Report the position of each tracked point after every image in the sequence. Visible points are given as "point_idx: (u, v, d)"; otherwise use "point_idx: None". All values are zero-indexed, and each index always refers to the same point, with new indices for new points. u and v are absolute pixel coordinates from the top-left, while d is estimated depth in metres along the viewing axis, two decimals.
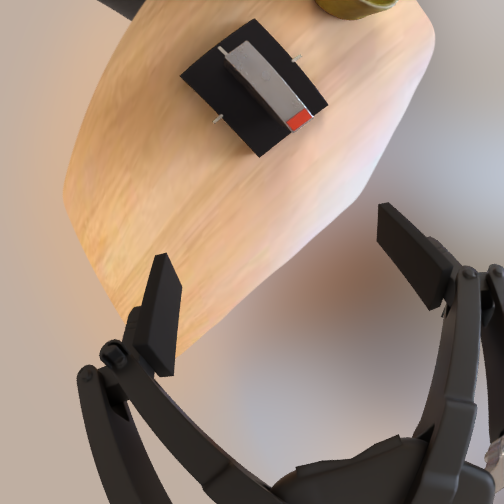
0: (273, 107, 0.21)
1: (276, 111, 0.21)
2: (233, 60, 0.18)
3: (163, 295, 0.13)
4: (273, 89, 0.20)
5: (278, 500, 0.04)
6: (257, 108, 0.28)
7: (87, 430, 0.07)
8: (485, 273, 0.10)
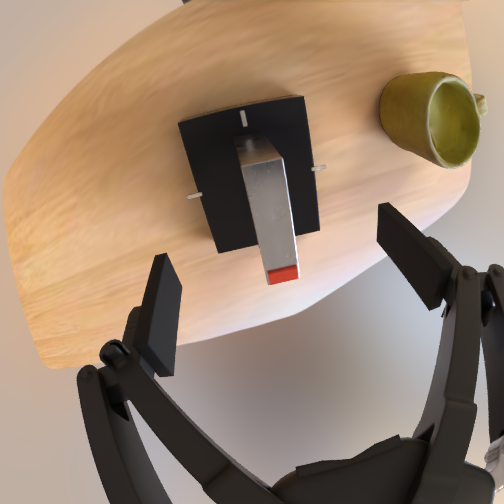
0: (263, 253, 0.18)
1: (263, 258, 0.18)
2: (250, 177, 0.15)
3: (163, 295, 0.13)
4: (275, 234, 0.17)
5: (278, 500, 0.04)
6: (244, 203, 0.26)
7: (87, 430, 0.07)
8: (485, 273, 0.10)
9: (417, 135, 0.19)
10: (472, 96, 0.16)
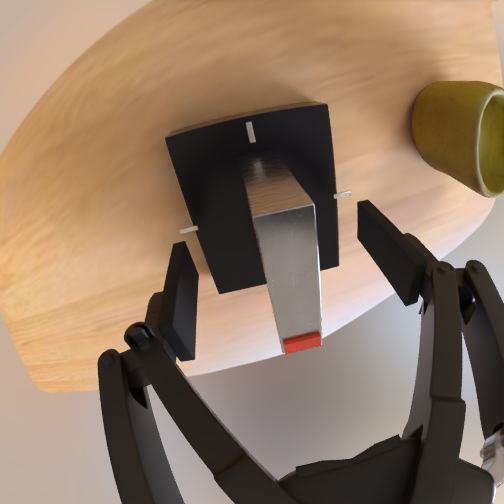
0: (278, 322, 0.14)
1: (279, 327, 0.14)
2: (265, 232, 0.10)
3: (184, 281, 0.14)
4: (296, 301, 0.13)
5: (288, 495, 0.05)
6: (250, 238, 0.21)
7: (103, 415, 0.08)
8: (462, 270, 0.10)
9: (462, 159, 0.14)
10: None
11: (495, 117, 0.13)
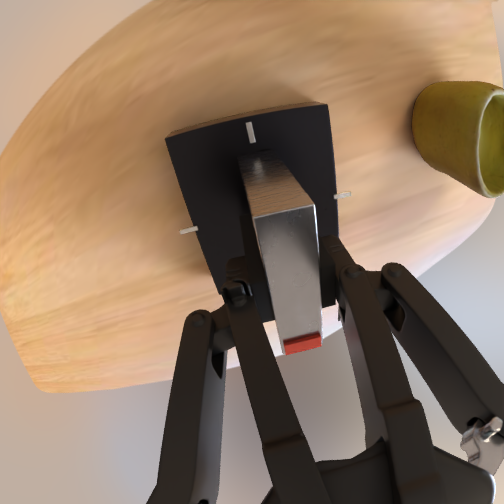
0: (279, 323, 0.13)
1: (279, 328, 0.14)
2: (265, 232, 0.10)
3: None
4: (296, 302, 0.13)
5: (323, 486, 0.05)
6: None
7: (175, 376, 0.09)
8: (379, 277, 0.11)
9: (462, 159, 0.14)
10: None
11: (495, 117, 0.13)
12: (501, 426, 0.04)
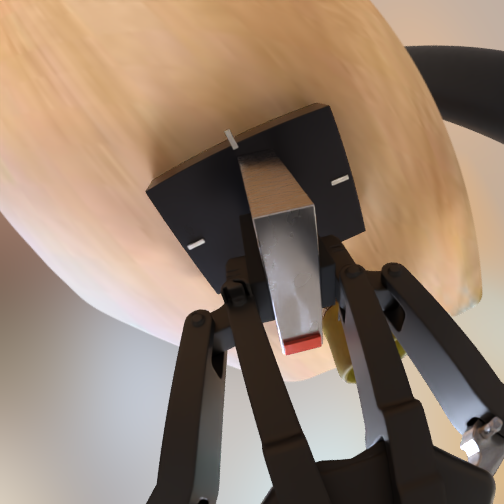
0: (279, 323, 0.13)
1: (279, 328, 0.14)
2: (265, 233, 0.10)
3: None
4: (296, 302, 0.13)
5: (323, 486, 0.05)
6: (231, 204, 0.19)
7: (175, 376, 0.09)
8: (379, 277, 0.11)
9: None
10: None
11: None
12: (502, 427, 0.04)
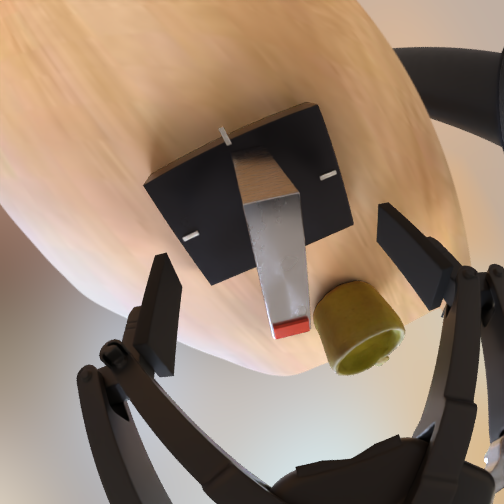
0: (268, 306, 0.14)
1: (269, 312, 0.15)
2: (254, 218, 0.11)
3: (163, 295, 0.13)
4: (284, 286, 0.14)
5: (278, 500, 0.04)
6: (224, 197, 0.20)
7: (87, 430, 0.07)
8: (485, 273, 0.10)
9: (352, 332, 0.25)
10: (390, 352, 0.28)
11: (377, 340, 0.29)
12: None
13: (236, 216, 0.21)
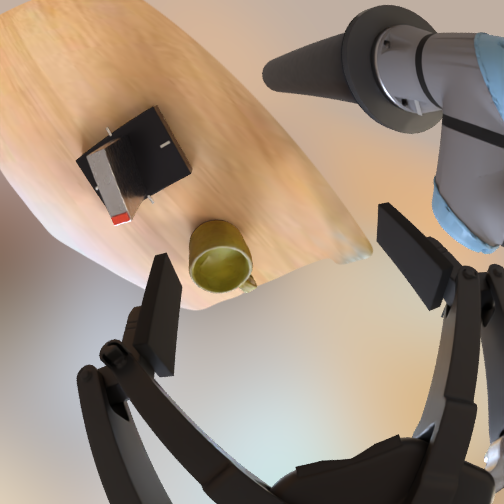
0: (106, 204, 0.27)
1: (107, 207, 0.28)
2: (90, 161, 0.24)
3: (163, 295, 0.13)
4: (109, 192, 0.27)
5: (278, 500, 0.04)
6: None
7: (87, 430, 0.07)
8: (485, 273, 0.10)
9: (197, 248, 0.38)
10: (247, 276, 0.41)
11: (236, 266, 0.42)
12: None
13: None
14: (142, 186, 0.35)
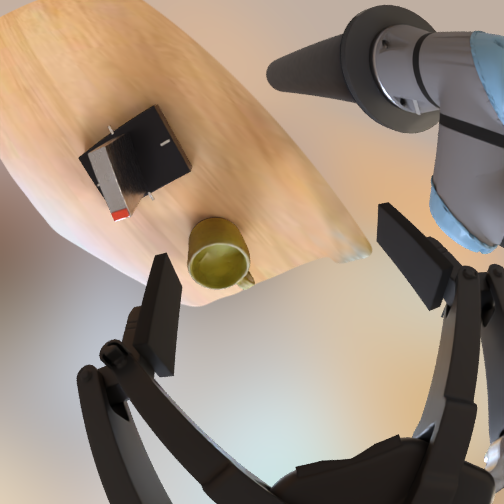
0: (106, 200, 0.28)
1: (107, 203, 0.29)
2: (92, 158, 0.25)
3: (163, 295, 0.13)
4: (109, 188, 0.28)
5: (278, 500, 0.04)
6: None
7: (87, 430, 0.07)
8: (485, 273, 0.10)
9: (196, 245, 0.39)
10: (245, 273, 0.42)
11: (235, 263, 0.43)
12: None
13: None
14: (143, 183, 0.36)
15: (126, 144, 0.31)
